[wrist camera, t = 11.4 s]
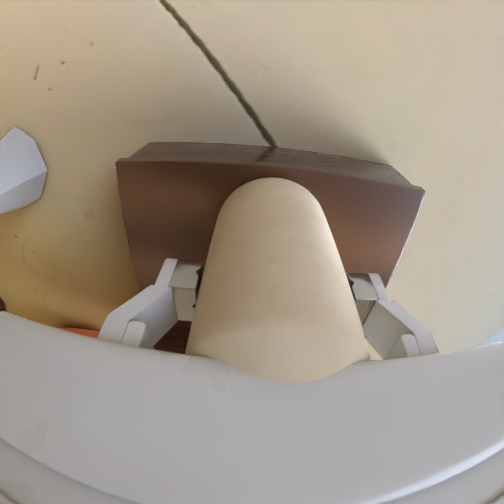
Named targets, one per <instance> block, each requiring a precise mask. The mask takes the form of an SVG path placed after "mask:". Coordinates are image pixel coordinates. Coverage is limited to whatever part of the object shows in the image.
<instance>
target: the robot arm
mask: <svg viewBox="0 0 504 504" xmlns="http://www.w3.org/2000/svg"><path fill="white" fill-rule="evenodd" d="M203 272H204V262H202V261H193V260H183V259H172V258H167V259H165V261H164V263H163V265H162V268H161V270H160V273H159V275H158V277H157V280H156V282H155V285H150V286H149V287H147V288H146V289H144V290H143V291H141V292H140V293H138V294H137V295H135V296H134V297H132V298H131V299H130V300H128V301H127V302H125V303H124V304H122V305H121V306H119V307H118V308H116V309H115V310H114V311H112V312H111V313H109V314H108V315H107V317H106V319H105V321H104V323H103V326H102V328H101V330H100V332H99V334H98V337H97V338H93V337H89V336H85V335H81V334H77V333H73V332H69V331H65V330H62V329H58V328H55V327H51V326H48V325H44V324H41V323H38V322H35V321H32V320H29V319H26V318H23V317H20V316H17V315H14V314H12V313H9V312H6V311H0V504H504V341H500V342H496V343H492V344H487V345H483V346H478V347H473V348H468V349H462V350H456V351H451V352H444V353H439V351H438V349H437V346H436V344H435V341H434V339H433V336H432V334H431V332H430V331H429V330H428V329H427V328H425V327H424V326H423V325H422V324H421V323H420V322H418V321H417V320H416V319H415V318H414V317H413V316H411V315H410V314H409V313H408V312H407V311H405V310H404V309H403V308H402V307H401V306H399V305H398V304H397V303H396V302H395V301H393V300H390V298H389V296H388V294H387V291H386V289H385V287H384V285H383V282H382V280H381V278H380V276H379V274H377V273H353V272H345V273H346V276H347V279H348V282H349V285H350V288H351V292H352V295H353V298H354V301H355V304H356V308H357V311H358V314H359V318H360V321H361V325H362V328H363V332H364V336H365V338H366V339H367V340H368V342H369V343H370V344H371V345H372V346H373V348H374V349H375V350H376V351H377V352H378V354H379V355H380V356H381V357H382V358H383V360H369V361H357V362H354V363H352V364H350V365H348V366H346V367H345V368H343V369H341V370H339V371H337V372H336V373H334V374H332V375H330V376H327V377H324V378H322V379H319V380H315V381H311V382H303V383H287V382H278V381H272V380H267V379H263V378H259V377H256V376H253V375H250V374H248V373H245V372H242V371H240V370H238V369H236V368H234V367H232V366H230V365H228V364H226V363H224V362H222V361H220V360H217V359H215V358H211V357H205V356H196V355H188V354H180V353H173V352H166V351H160V350H154V348H153V346H154V345H155V344H156V343H157V342H158V341H159V340H160V339H161V338H162V337H163V336H164V335H165V334H166V333H167V332H168V331H169V330H170V329H171V328H172V327H173V326H174V325H175V324H176V323H177V322H178V321H177V320H180V321H192V319H193V315H194V310H195V306H196V301H197V297H198V293H199V289H200V284H201V280H202V276H203Z"/></svg>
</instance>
